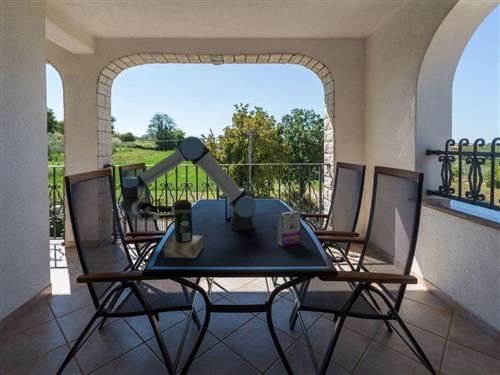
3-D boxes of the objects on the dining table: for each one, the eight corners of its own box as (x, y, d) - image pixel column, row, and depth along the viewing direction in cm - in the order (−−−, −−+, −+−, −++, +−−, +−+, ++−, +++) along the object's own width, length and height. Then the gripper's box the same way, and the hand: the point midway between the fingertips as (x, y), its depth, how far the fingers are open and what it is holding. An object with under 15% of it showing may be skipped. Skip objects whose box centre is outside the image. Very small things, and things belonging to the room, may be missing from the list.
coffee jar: (174, 237, 146) (173, 199, 143) (191, 236, 148) (190, 198, 146) (175, 243, 137) (174, 202, 134) (193, 242, 139) (192, 201, 137)
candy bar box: (294, 241, 161) (295, 210, 159) (300, 243, 156) (301, 212, 154) (276, 244, 156) (277, 212, 153) (282, 247, 151) (282, 214, 149)
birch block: (202, 247, 150) (202, 235, 149) (195, 258, 136) (194, 244, 135) (174, 246, 151) (174, 234, 150) (164, 256, 137) (164, 243, 136)
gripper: (162, 211, 169) (189, 216, 157) (121, 220, 149) (148, 227, 137) (162, 198, 168) (189, 202, 156) (120, 205, 148) (147, 210, 136)
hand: (170, 213), depth 146 cm, fingers open, 13 cm apart
